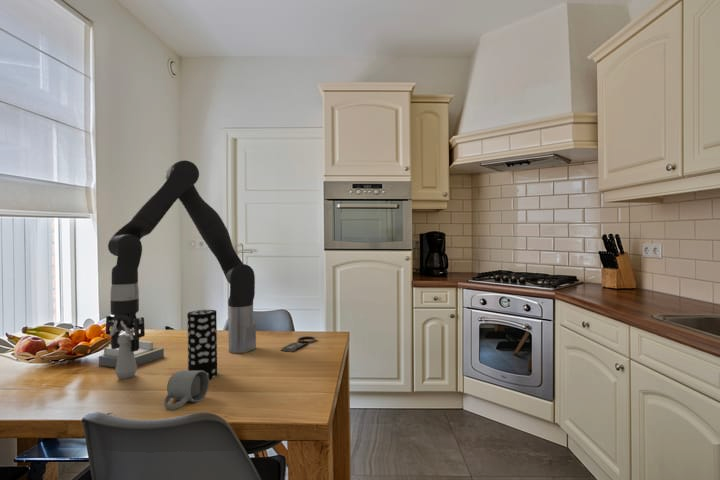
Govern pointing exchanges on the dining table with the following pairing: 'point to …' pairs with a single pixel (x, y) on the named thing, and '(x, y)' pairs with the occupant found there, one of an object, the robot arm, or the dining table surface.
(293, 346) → the keychain
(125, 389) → the dining table surface
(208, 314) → the spotted tube
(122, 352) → the salt shaker
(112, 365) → the dock
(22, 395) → the dining table surface
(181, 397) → the ceramic mug
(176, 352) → the dining table surface
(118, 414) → the dining table surface
